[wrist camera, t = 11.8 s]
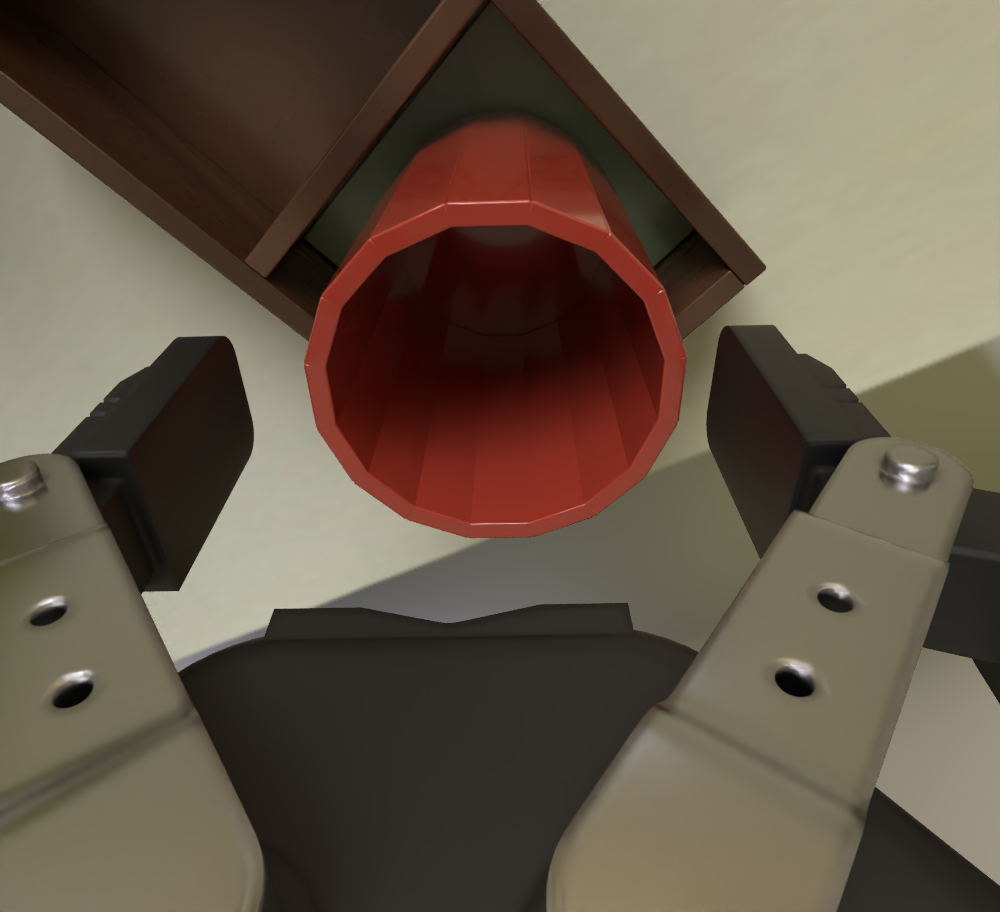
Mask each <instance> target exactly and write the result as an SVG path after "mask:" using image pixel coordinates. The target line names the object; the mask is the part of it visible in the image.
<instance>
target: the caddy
mask: <svg viewBox="0 0 1000 912" xmlns="http://www.w3.org/2000/svg"><path fill="white" fill-rule="evenodd" d="M0 103H1V104H3V105H4V106H5V107H6V108H8V109H9V110H10V111H12V112H13V113H14V114H15V115H17V116H18V117H19V118H21V119H22V120H23V121H25V122H26V123H27V124H28V125H30V126H31V127H32V128H34V129H35V130H36V131H37V132H39V133H40V134H41V135H43V136H44V137H45V138H46V139H48V140H49V141H50V142H52V143H53V144H54V145H56V146H57V147H58V148H59V149H61V150H62V151H63V152H65V153H66V154H67V155H68V156H70V157H71V158H72V159H74V160H75V161H76V162H78V163H79V164H80V165H81V166H83V167H84V168H85V169H87V170H88V171H89V172H90V173H92V174H93V175H94V176H96V177H97V178H98V179H99V180H101V181H102V182H103V183H105V184H106V185H107V186H109V187H110V188H111V189H112V190H114V191H115V192H116V193H118V194H119V195H120V196H121V197H123V198H124V199H125V200H127V201H128V202H129V203H131V204H132V205H133V206H134V207H136V208H137V209H138V210H140V211H141V212H142V213H143V214H145V215H146V216H147V217H149V218H150V219H151V220H152V221H154V222H155V223H156V224H158V225H159V226H160V227H162V228H163V229H164V230H165V231H167V232H168V233H169V234H171V235H172V236H173V237H174V238H176V239H177V240H178V241H180V242H181V243H182V244H184V245H185V246H186V247H187V248H189V249H190V250H191V251H193V252H194V253H195V254H196V255H198V256H199V257H200V258H202V259H203V260H204V261H205V262H207V263H208V264H209V265H211V266H212V267H213V268H215V269H216V270H217V271H218V272H220V273H221V274H222V275H224V276H225V277H226V278H227V279H229V280H230V281H231V282H233V283H234V284H235V285H237V286H238V287H239V288H240V289H242V290H243V291H244V292H246V293H247V294H248V295H249V296H251V297H252V298H253V299H255V300H256V301H257V302H258V303H260V304H261V305H262V306H264V307H265V308H266V309H268V310H269V311H270V312H271V313H273V314H274V315H275V316H277V317H278V318H279V319H280V320H282V321H283V322H284V323H286V324H287V325H288V326H290V327H291V328H292V329H293V330H295V331H296V332H297V333H299V334H300V335H301V336H302V337H304V338H305V339H306V340H308V341H309V340H310V336H311V332H312V328H313V324H314V320H315V316H316V312H317V308H318V304H319V300H320V297H321V296H322V293H323V292H324V290H325V288H326V287H327V285H328V283H329V282H330V280H331V279H332V277H333V275H334V274H335V272H336V271H337V269H338V267H339V266H340V264H341V263H342V261H343V259H344V258H345V256H346V254H347V253H348V251H349V250H350V248H351V246H352V245H353V243H354V242H355V240H356V238H357V237H358V235H359V233H360V232H361V230H362V229H363V227H364V225H365V224H366V222H367V221H368V219H369V217H370V216H371V214H372V213H373V211H374V209H375V208H376V206H377V204H378V203H379V201H380V200H381V198H382V196H383V195H384V193H385V192H386V190H387V188H388V187H389V185H390V184H391V182H392V180H393V179H394V177H395V175H396V174H397V172H398V171H399V170H400V169H401V167H402V166H403V165H404V164H405V163H406V161H407V160H408V159H409V157H410V156H411V155H412V153H413V152H414V151H415V149H416V148H417V147H418V146H419V145H420V144H421V143H422V142H423V141H424V139H425V138H426V137H428V136H429V135H430V134H432V133H434V132H435V131H436V130H437V129H439V128H441V127H442V126H444V125H446V124H448V123H449V122H451V121H453V120H456V119H458V118H460V117H463V116H465V115H469V114H473V113H477V112H481V111H489V110H515V111H520V112H526V113H530V114H533V115H536V116H539V117H542V118H545V119H547V120H549V121H551V122H553V123H555V124H557V125H559V126H560V127H562V128H563V129H565V130H566V131H568V132H569V133H571V134H572V135H573V136H574V137H575V138H576V139H577V140H578V141H579V142H580V143H581V144H582V145H584V147H585V148H586V149H587V150H588V152H589V153H590V154H591V155H592V157H593V158H594V159H595V160H596V162H597V163H598V164H599V165H600V166H601V167H602V169H603V170H604V172H605V174H606V176H607V178H608V180H609V182H610V184H611V186H612V188H613V190H614V192H615V194H616V195H617V197H618V199H619V201H620V203H621V205H622V207H623V209H624V211H625V213H626V215H627V217H628V219H629V221H630V223H631V225H632V226H633V228H634V230H635V232H636V234H637V236H638V238H639V240H640V242H641V244H642V246H643V248H644V250H645V252H646V254H647V255H648V257H649V259H650V261H651V263H652V265H653V267H654V269H655V271H656V273H657V275H658V277H659V279H660V281H661V283H662V285H663V286H664V288H665V290H666V293H667V296H668V299H669V302H670V305H671V309H672V312H673V315H674V318H675V321H676V324H677V327H678V330H679V333H680V336H681V339H682V340H683V339H684V338H685V337H686V336H688V335H689V334H690V333H691V332H692V331H694V330H695V329H696V328H697V327H698V326H699V325H701V324H702V323H703V322H704V321H705V320H707V319H708V318H709V317H710V316H711V315H712V314H714V313H715V312H716V311H717V310H718V309H720V308H721V307H722V306H723V305H724V304H726V303H727V302H728V301H729V300H730V299H731V298H733V297H734V296H735V295H736V294H737V293H739V292H740V291H741V290H742V289H743V288H744V284H745V285H748V284H749V283H750V282H752V281H753V280H754V279H755V278H756V277H757V276H759V275H760V274H761V273H762V272H763V271H765V269H766V265H765V264H764V263H763V262H762V261H761V260H760V258H759V257H758V256H757V255H756V254H755V253H754V251H753V250H752V249H751V248H750V247H749V246H748V245H747V243H746V242H745V241H744V240H743V239H742V238H741V236H740V235H739V234H738V233H737V232H736V231H735V229H734V228H733V227H732V226H731V225H730V224H729V223H728V221H727V220H726V219H725V218H724V217H723V216H722V214H721V213H720V212H719V211H718V210H717V209H716V208H715V206H714V205H713V204H712V203H711V202H710V201H709V199H708V198H707V197H706V196H705V195H704V194H703V192H702V191H701V190H700V189H699V188H698V187H697V186H696V184H695V183H694V182H693V181H692V180H691V179H690V177H689V176H688V175H687V174H686V173H685V172H684V170H683V169H682V168H681V167H680V166H679V165H678V164H677V162H676V161H675V160H674V159H673V158H672V157H671V155H670V154H669V153H668V152H667V151H666V150H665V149H664V147H663V146H662V145H661V144H660V143H659V142H658V140H657V139H656V138H655V137H654V136H653V135H652V133H651V132H650V131H649V130H648V129H647V128H646V127H645V125H644V124H643V123H642V122H641V121H640V120H639V118H638V117H637V116H636V115H635V114H634V113H633V111H632V110H631V109H630V108H629V107H628V106H627V105H626V103H625V102H624V101H623V100H622V99H621V98H620V96H619V95H618V94H617V93H616V92H615V91H614V90H613V88H612V87H611V86H610V85H609V84H608V83H607V81H606V80H605V79H604V78H603V77H602V76H601V74H600V73H599V72H598V71H597V70H596V69H595V68H594V66H593V65H592V64H591V63H590V62H589V61H588V59H587V58H586V57H585V56H584V55H583V54H582V53H581V51H580V50H579V49H578V48H577V47H576V46H575V44H574V43H573V42H572V41H571V40H570V39H569V37H568V36H567V35H566V34H565V33H564V32H563V31H562V29H561V28H560V27H559V26H558V25H557V24H556V22H555V21H554V20H553V19H552V18H551V17H550V15H549V14H548V13H547V12H546V11H545V10H544V9H543V7H542V6H541V5H540V4H539V3H538V2H537V0H0Z"/></svg>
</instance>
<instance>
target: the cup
mask: <svg viewBox="0 0 1000 912" xmlns="http://www.w3.org/2000/svg"><path fill="white" fill-rule="evenodd" d="M686 360H687V357H686V351H685V348H684V345H683V342H682V339H681V336H680V333H679V330H678V327H677V324H676V321H675V318H674V315H673V312H672V309H671V305H670V302H669V299H668V296H667V293H666V290H665V288H664V286H663V285H662V283H661V281H660V279H659V277H658V275H657V273H656V271H655V269H654V267H653V265H652V263H651V261H650V259H649V257H648V255H647V254H646V252H645V250H644V248H643V246H642V244H641V242H640V240H639V238H638V236H637V234H636V232H635V230H634V228H633V226H632V225H631V223H630V221H629V219H628V217H627V215H626V213H625V211H624V209H623V207H622V205H621V203H620V201H619V199H618V197H617V195H616V194H615V192H614V190H613V188H612V186H611V184H610V182H609V180H608V178H607V176H606V174H605V172H604V170H603V169H602V167H601V166H600V165H599V164H598V163H597V162H596V160H595V159H594V158H593V157H592V155H591V154H590V153H589V152H588V150H587V149H586V148H585V147H584V145H582V144H581V143H580V142H579V141H578V140H577V139H576V138H575V137H574V136H573V135H572V134H571V133H569V132H568V131H566V130H565V129H563V128H562V127H560V126H559V125H557V124H555V123H553V122H551V121H549V120H547V119H545V118H542V117H539V116H536V115H533V114H530V113H526V112H520V111H515V110H489V111H481V112H477V113H473V114H469V115H465V116H463V117H460V118H458V119H456V120H453V121H451V122H449V123H448V124H446V125H444V126H442V127H441V128H439V129H437V130H436V131H435V132H434V133H432V134H430V135H429V136H428V137H426V138H425V139H424V141H423V142H422V143H421V144H420V145H419V146H418V147H417V148H416V149H415V151H414V152H413V153H412V155H411V156H410V157H409V159H408V160H407V161H406V163H405V164H404V165H403V166H402V167H401V169H400V170H399V171H398V172H397V174H396V175H395V177H394V179H393V180H392V182H391V184H390V185H389V187H388V188H387V190H386V192H385V193H384V195H383V196H382V198H381V200H380V201H379V203H378V204H377V206H376V208H375V209H374V211H373V213H372V214H371V216H370V217H369V219H368V221H367V222H366V224H365V225H364V227H363V229H362V230H361V232H360V233H359V235H358V237H357V238H356V240H355V242H354V243H353V245H352V246H351V248H350V250H349V251H348V253H347V254H346V256H345V258H344V259H343V261H342V263H341V264H340V266H339V267H338V269H337V271H336V272H335V274H334V275H333V277H332V279H331V280H330V282H329V283H328V285H327V287H326V288H325V290H324V292H323V293H322V296H321V297H320V300H319V304H318V308H317V312H316V316H315V320H314V324H313V328H312V332H311V336H310V340H309V344H308V348H307V352H306V356H305V360H304V363H305V364H304V368H305V373H306V378H307V383H308V388H309V393H310V398H311V403H312V408H313V413H314V418H315V423H316V427H317V428H318V431H319V433H320V434H321V436H322V437H323V439H324V440H325V442H326V443H327V445H328V446H329V448H330V449H331V450H332V452H333V453H334V455H335V456H336V458H337V459H338V461H339V462H340V464H341V465H342V466H343V468H344V469H345V471H346V472H347V474H348V475H349V477H350V478H351V480H352V481H354V483H355V484H356V485H358V486H359V487H361V488H362V489H363V490H365V491H366V492H368V493H369V494H371V495H372V496H373V497H375V498H376V499H378V500H379V501H381V502H382V503H383V504H385V505H386V506H388V507H389V508H391V509H392V510H393V511H395V512H396V513H398V514H399V515H400V516H402V517H403V518H405V519H406V518H407V520H410V521H413V522H416V523H420V524H423V525H426V526H430V527H433V528H436V529H440V530H443V531H446V532H450V533H453V534H456V535H460V536H463V537H469V538H507V537H532V536H537V535H540V534H544V533H547V532H550V531H553V530H555V529H559V528H561V527H564V526H568V525H571V524H574V523H576V522H580V521H583V520H586V519H589V518H592V517H593V516H595V515H597V514H598V513H599V512H601V511H602V510H603V509H605V508H606V507H607V506H609V505H610V504H611V503H612V502H614V501H615V500H616V499H617V498H619V497H620V496H622V495H623V494H624V493H626V492H627V491H628V490H629V489H631V488H632V487H633V486H635V485H636V484H637V483H639V482H640V481H641V480H642V479H643V478H644V477H645V476H646V475H647V473H648V472H649V470H650V468H651V467H652V465H653V463H654V462H655V460H656V458H657V457H658V455H659V453H660V452H661V450H662V448H663V447H664V445H665V443H666V442H667V440H668V439H669V437H670V435H671V434H672V432H673V430H674V429H675V427H676V425H677V422H678V420H679V414H680V407H681V399H682V391H683V383H684V376H685V368H686Z"/></svg>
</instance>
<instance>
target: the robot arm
mask: <svg viewBox="0 0 1000 912" xmlns="http://www.w3.org/2000/svg"><path fill="white" fill-rule="evenodd" d="M706 425H707V438H708V443H709V447H710V449H711V452H712V454H713V456H714V458H715V460H716V463H717V465H718V467H719V469H720V471H721V473H722V476H723V478H724V480H725V482H726V485H727V487H728V489H729V491H730V493H731V496H732V498H733V500H734V502H735V504H736V507H737V509H738V511H739V513H740V515H741V517H742V520H743V522H744V524H745V526H746V529H747V531H748V533H749V535H750V537H751V540H752V542H753V544H754V546H755V548H756V551H757V553H758V555H759V557H760V559H761V560H760V561H759V563H758V564H757V566H756V567H755V569H754V570H753V572H752V573H751V575H750V576H749V578H748V579H747V581H746V582H745V584H744V585H743V587H742V588H741V590H740V591H739V593H738V594H737V596H736V597H735V599H734V600H733V602H732V604H731V605H730V607H729V608H728V609H727V611H726V613H725V614H724V615H723V617H722V619H721V620H720V621H719V623H718V624H717V626H716V628H715V629H714V631H713V632H712V633H711V635H710V636H709V638H708V640H707V641H706V643H705V644H704V646H703V647H702V649H701V650H700V652H697V651H695V650H693V649H691V648H689V647H687V646H685V645H682V644H680V643H677V642H675V641H672V640H669V639H667V638H664V637H660V636H657V635H653V634H649V633H646V632H641V631H636V630H633V626H632V622H631V616H630V612H629V607H628V603H603V604H548V605H547V604H543V605H536V606H532V607H527V608H522V609H517V610H513V611H508V612H503V613H499V614H494V615H489V616H485V617H480V618H476V619H471V620H466V621H461V622H456V623H441V622H435V621H430V620H424V619H418V618H413V617H408V616H403V615H397V614H392V613H387V612H381V611H376V610H371V609H366V608H306V609H274V611H273V614H272V617H271V620H270V622H269V625H268V628H267V631H266V634H265V636H264V637H260V638H256V639H252V640H249V641H245V642H242V643H239V644H236V645H233V646H230V647H228V648H225V649H223V650H220V651H218V652H215V653H213V654H211V655H209V656H207V657H205V658H203V659H201V660H199V661H197V662H195V663H193V664H191V665H189V666H188V667H186V668H185V669H183V670H181V671H180V672H177V670H176V668H175V666H174V664H173V662H172V659H171V657H170V655H169V653H168V651H167V649H166V647H165V645H164V643H163V640H162V638H161V636H160V634H159V632H158V630H157V628H156V626H155V623H154V621H153V619H152V617H151V615H150V613H149V611H148V609H147V606H146V604H145V602H144V600H143V598H142V596H141V594H142V593H143V592H145V591H179V589H180V588H181V586H182V584H183V582H184V580H185V578H186V576H187V574H188V573H189V571H190V569H191V567H192V565H193V563H194V561H195V559H196V558H197V556H198V554H199V552H200V550H201V548H202V546H203V544H204V542H205V541H206V539H207V537H208V535H209V533H210V531H211V529H212V527H213V526H214V524H215V522H216V520H217V518H218V516H219V514H220V512H221V510H222V509H223V507H224V505H225V503H226V501H227V499H228V497H229V495H230V494H231V492H232V490H233V488H234V486H235V484H236V482H237V480H238V479H239V477H240V475H241V473H242V471H243V469H244V467H245V465H246V463H247V462H248V460H249V458H250V456H251V453H252V449H253V442H254V429H253V421H252V417H251V413H250V409H249V405H248V401H247V397H246V393H245V389H244V385H243V381H242V377H241V373H240V369H239V365H238V361H237V357H236V353H235V350H234V347H233V345H232V343H231V341H230V340H229V339H228V338H227V337H225V336H202V337H178V338H176V339H175V340H174V341H173V342H172V343H171V344H170V345H169V346H168V347H167V348H166V349H165V350H164V351H163V353H162V354H161V355H160V356H159V357H158V358H157V359H156V360H155V361H154V362H153V363H152V364H151V366H150V367H146V368H144V369H142V370H141V371H139V372H137V373H135V374H133V375H132V376H130V377H128V378H126V379H125V380H123V381H121V382H120V383H119V384H118V385H117V386H116V387H115V388H114V389H113V390H112V391H111V392H110V393H109V394H108V395H107V396H106V397H105V398H104V403H99V404H98V405H97V406H96V408H95V409H94V410H93V411H92V412H91V413H90V417H86V418H85V419H84V420H83V421H82V422H81V423H80V424H79V425H78V426H77V427H76V428H75V429H74V430H73V431H72V432H71V434H70V435H69V436H68V437H67V438H66V439H65V440H64V441H63V442H62V443H61V444H60V445H59V446H58V447H57V448H56V449H55V450H54V451H53V452H52V453H51V454H36V455H29V456H24V457H19V458H15V459H12V460H8V461H5V462H3V463H0V912H1000V886H999V885H998V884H997V883H995V882H994V881H993V880H991V879H990V878H989V877H988V876H987V875H985V874H984V873H983V872H982V871H980V870H979V869H978V868H977V867H975V866H974V865H973V864H972V863H970V862H969V861H968V860H966V859H965V858H964V857H963V856H961V855H960V854H959V853H958V852H957V851H955V850H954V849H953V848H951V847H950V846H949V845H948V844H946V843H945V842H944V841H943V840H941V839H940V838H939V837H938V836H936V835H935V834H934V833H933V832H931V831H930V830H929V829H927V828H926V827H925V826H924V825H923V824H921V823H920V822H918V820H916V819H915V818H914V817H913V816H911V815H910V814H909V813H908V812H906V811H905V810H904V809H902V808H901V807H900V806H899V805H897V804H896V803H895V802H894V801H892V800H891V799H890V798H889V797H887V796H886V795H885V794H883V793H882V792H881V791H880V790H879V789H877V788H876V787H875V785H876V782H877V779H878V777H879V774H880V770H881V767H882V765H883V762H884V759H885V756H886V753H887V750H888V747H889V744H890V741H891V738H892V735H893V732H894V729H895V726H896V723H897V721H898V718H899V715H900V712H901V709H902V706H903V703H904V700H905V697H906V694H907V691H908V688H909V685H910V682H911V679H912V676H913V673H914V670H915V668H916V665H917V661H918V659H919V656H920V653H921V650H922V647H924V648H928V649H933V650H937V651H942V652H946V653H951V654H955V655H959V656H964V657H969V658H972V659H973V661H974V663H975V665H976V666H977V668H978V670H979V671H980V673H981V674H982V676H983V678H984V679H985V681H986V683H987V684H988V686H989V687H990V689H991V691H992V692H993V694H994V695H995V697H996V699H997V700H998V702H999V703H1000V493H997V492H991V491H985V490H980V489H975V488H973V484H974V481H973V476H972V474H971V473H970V471H969V470H968V469H967V467H966V466H965V465H964V464H962V463H961V462H960V461H959V460H958V459H956V458H954V457H953V456H951V455H950V454H948V453H946V452H944V451H942V450H940V449H938V448H935V447H932V446H930V445H927V444H924V443H920V442H917V441H913V440H908V439H902V438H892V437H891V436H890V435H889V433H888V432H887V431H886V430H885V429H884V428H883V427H882V425H881V424H880V423H879V422H878V421H877V420H876V419H875V418H874V416H873V415H872V414H871V413H870V412H869V410H867V408H866V407H865V406H864V405H863V404H862V403H858V398H857V397H856V396H855V394H854V393H853V392H852V391H851V390H850V389H849V388H846V384H845V383H844V382H843V381H842V379H841V378H840V377H839V376H838V375H837V374H836V373H835V371H834V370H833V369H832V368H831V367H829V366H827V365H825V364H823V363H822V362H820V361H818V360H816V359H814V358H813V357H811V356H809V355H807V354H797V353H796V352H795V350H794V349H793V348H792V347H791V345H790V344H789V343H788V342H787V340H786V339H785V338H784V337H783V336H782V334H781V333H780V332H779V331H778V329H777V328H776V327H775V326H773V325H746V326H725V327H724V328H723V330H722V332H721V334H720V337H719V341H718V347H717V353H716V359H715V366H714V372H713V378H712V385H711V391H710V397H709V403H708V410H707V423H706Z"/></svg>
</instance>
